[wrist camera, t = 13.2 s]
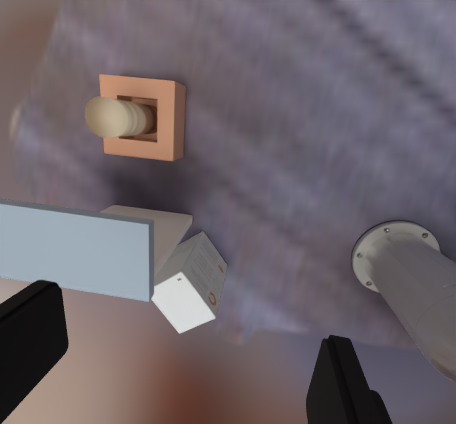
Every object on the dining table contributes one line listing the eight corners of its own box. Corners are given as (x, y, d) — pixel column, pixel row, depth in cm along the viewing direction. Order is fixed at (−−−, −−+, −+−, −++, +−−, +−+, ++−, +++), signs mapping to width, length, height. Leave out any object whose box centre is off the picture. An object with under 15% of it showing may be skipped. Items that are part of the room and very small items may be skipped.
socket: (185, 86, 37) (174, 81, 32) (183, 157, 40) (173, 161, 35) (119, 80, 37) (99, 74, 33) (122, 149, 41) (104, 153, 36)
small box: (174, 246, 45) (142, 290, 33) (203, 229, 44) (181, 270, 31) (200, 280, 47) (178, 335, 35) (228, 266, 45) (217, 318, 33)
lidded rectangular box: (200, 178, 41) (148, 224, 22) (198, 224, 43) (149, 301, 24) (105, 166, 42) (-22, 200, 23) (108, 212, 45) (-4, 276, 26)
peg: (163, 106, 37) (120, 98, 26) (162, 135, 38) (122, 139, 27) (136, 103, 37) (82, 94, 26) (136, 132, 39) (86, 135, 27)
